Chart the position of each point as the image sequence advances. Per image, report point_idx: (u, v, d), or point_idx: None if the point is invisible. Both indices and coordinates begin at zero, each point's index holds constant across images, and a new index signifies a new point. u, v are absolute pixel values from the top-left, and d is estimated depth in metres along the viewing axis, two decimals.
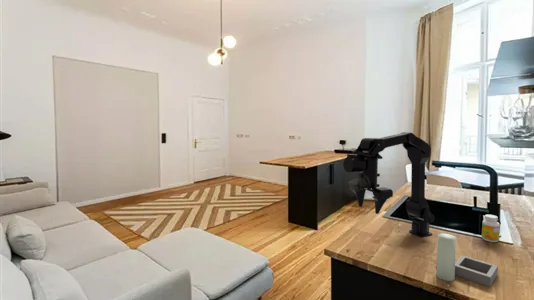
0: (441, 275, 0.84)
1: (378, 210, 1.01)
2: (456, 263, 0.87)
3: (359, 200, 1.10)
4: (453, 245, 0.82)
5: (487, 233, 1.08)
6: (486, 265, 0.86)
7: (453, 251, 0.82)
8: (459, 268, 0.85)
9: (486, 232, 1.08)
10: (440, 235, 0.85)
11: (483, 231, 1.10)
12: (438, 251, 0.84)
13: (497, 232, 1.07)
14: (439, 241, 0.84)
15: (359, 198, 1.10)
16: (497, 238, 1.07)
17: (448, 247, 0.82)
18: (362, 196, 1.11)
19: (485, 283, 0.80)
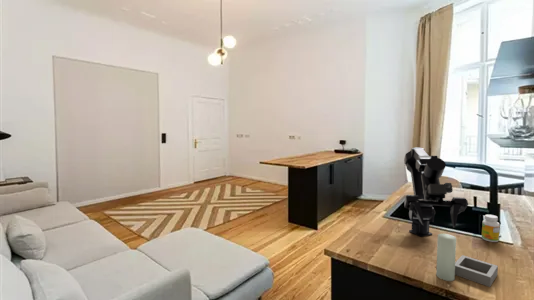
0: (441, 275, 0.84)
1: (455, 223, 0.91)
2: (456, 263, 0.87)
3: None
4: (453, 245, 0.82)
5: (487, 233, 1.08)
6: (486, 265, 0.86)
7: (453, 251, 0.82)
8: (459, 268, 0.85)
9: (486, 232, 1.08)
10: (440, 235, 0.85)
11: (483, 231, 1.10)
12: (438, 251, 0.84)
13: (497, 232, 1.07)
14: (439, 241, 0.84)
15: None
16: (497, 238, 1.07)
17: (448, 247, 0.82)
18: None
19: (485, 283, 0.80)
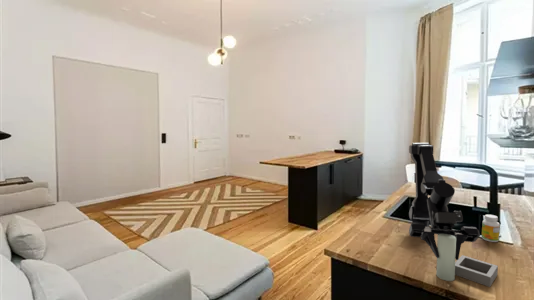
0: (441, 275, 0.84)
1: None
2: (456, 263, 0.87)
3: (436, 248, 0.85)
4: (453, 245, 0.82)
5: (487, 233, 1.08)
6: (486, 265, 0.86)
7: (453, 251, 0.82)
8: (459, 268, 0.85)
9: (486, 232, 1.08)
10: (440, 235, 0.85)
11: (483, 231, 1.10)
12: (438, 251, 0.84)
13: (497, 232, 1.07)
14: (439, 241, 0.84)
15: None
16: (497, 238, 1.07)
17: (448, 247, 0.82)
18: None
19: (485, 283, 0.80)
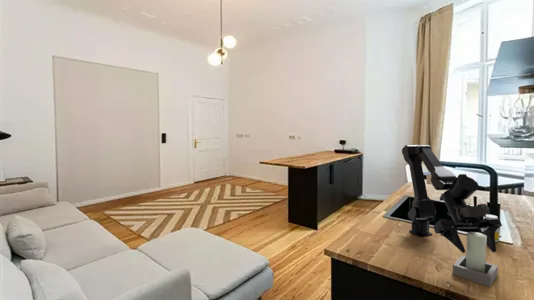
0: None
1: None
2: (456, 263, 0.87)
3: None
4: (485, 242, 0.83)
5: None
6: (486, 265, 0.86)
7: (485, 248, 0.83)
8: (459, 268, 0.85)
9: None
10: (470, 234, 0.85)
11: None
12: (470, 250, 0.84)
13: (497, 232, 1.07)
14: (471, 240, 0.84)
15: None
16: (497, 238, 1.07)
17: (481, 245, 0.82)
18: None
19: (485, 283, 0.80)
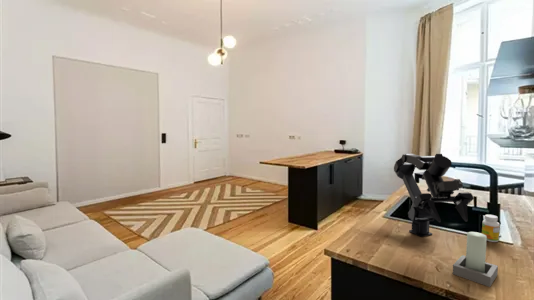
0: None
1: None
2: (456, 263, 0.87)
3: None
4: (485, 242, 0.83)
5: (487, 233, 1.08)
6: (486, 265, 0.86)
7: (485, 248, 0.83)
8: (459, 268, 0.85)
9: (486, 232, 1.08)
10: (470, 234, 0.85)
11: (483, 231, 1.10)
12: (470, 250, 0.84)
13: (497, 232, 1.07)
14: (471, 240, 0.84)
15: None
16: (497, 238, 1.07)
17: (481, 245, 0.82)
18: None
19: (485, 283, 0.80)
